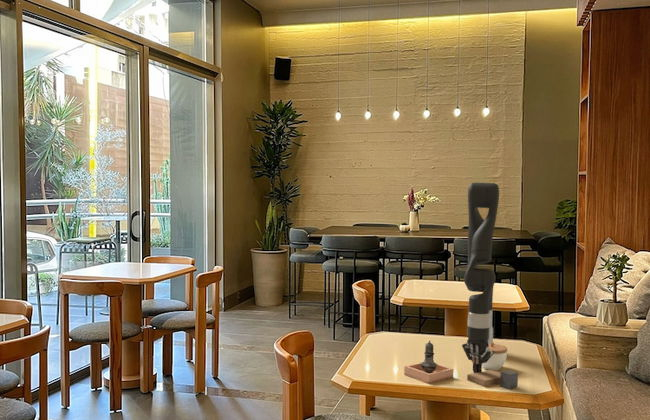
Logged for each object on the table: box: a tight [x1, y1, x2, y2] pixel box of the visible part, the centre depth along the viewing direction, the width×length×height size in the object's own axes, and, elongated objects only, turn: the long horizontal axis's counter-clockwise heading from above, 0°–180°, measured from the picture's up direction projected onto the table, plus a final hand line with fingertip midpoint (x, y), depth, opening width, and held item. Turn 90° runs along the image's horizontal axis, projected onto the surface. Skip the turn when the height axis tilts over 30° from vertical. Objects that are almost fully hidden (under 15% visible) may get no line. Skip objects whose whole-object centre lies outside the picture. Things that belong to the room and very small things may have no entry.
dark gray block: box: [499, 369, 519, 390], centre depth 213 cm, size 4×4×5 cm
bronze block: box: [466, 369, 501, 388], centre depth 219 cm, size 12×8×2 cm, turn 121°
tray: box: [403, 361, 454, 384], centre depth 224 cm, size 12×12×3 cm
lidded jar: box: [482, 341, 508, 371], centre depth 235 cm, size 11×11×9 cm
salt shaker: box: [420, 340, 438, 373], centre depth 224 cm, size 6×6×12 cm
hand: (477, 373), depth 224 cm, fingers closed
